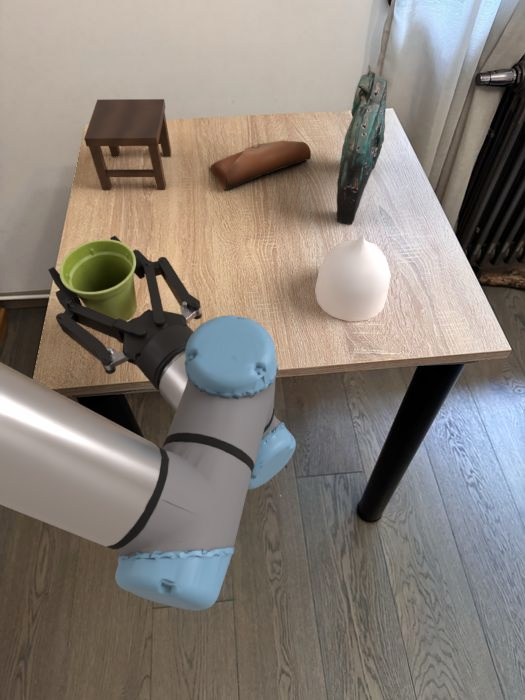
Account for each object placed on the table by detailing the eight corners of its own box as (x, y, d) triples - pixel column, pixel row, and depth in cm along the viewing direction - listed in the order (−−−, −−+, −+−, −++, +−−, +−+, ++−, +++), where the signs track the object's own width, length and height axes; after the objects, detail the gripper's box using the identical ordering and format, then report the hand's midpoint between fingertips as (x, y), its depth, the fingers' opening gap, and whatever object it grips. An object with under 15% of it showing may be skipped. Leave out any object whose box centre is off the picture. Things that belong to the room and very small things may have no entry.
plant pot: (69, 332, 68) (46, 288, 61) (93, 280, 73) (75, 235, 66) (137, 340, 67) (122, 298, 60) (156, 288, 72) (144, 242, 65)
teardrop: (311, 317, 76) (318, 260, 66) (317, 264, 82) (324, 204, 72) (386, 325, 75) (405, 268, 65) (386, 271, 81) (403, 211, 71)
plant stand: (100, 191, 93) (84, 138, 84) (111, 151, 99) (97, 99, 91) (166, 190, 93) (156, 138, 84) (172, 151, 99) (164, 98, 91)
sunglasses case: (287, 138, 101) (298, 119, 94) (303, 170, 101) (315, 153, 94) (206, 166, 96) (212, 148, 89) (222, 200, 96) (229, 184, 89)
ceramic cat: (346, 156, 98) (363, 46, 82) (380, 161, 97) (403, 51, 81) (326, 223, 87) (340, 112, 71) (363, 230, 86) (386, 119, 70)
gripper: (111, 439, 57) (21, 317, 67) (256, 340, 65) (157, 244, 74) (92, 407, 51) (-3, 278, 60) (255, 302, 58) (147, 203, 68)
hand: (85, 259), depth 67 cm, fingers closed on plant pot, 8 cm apart
